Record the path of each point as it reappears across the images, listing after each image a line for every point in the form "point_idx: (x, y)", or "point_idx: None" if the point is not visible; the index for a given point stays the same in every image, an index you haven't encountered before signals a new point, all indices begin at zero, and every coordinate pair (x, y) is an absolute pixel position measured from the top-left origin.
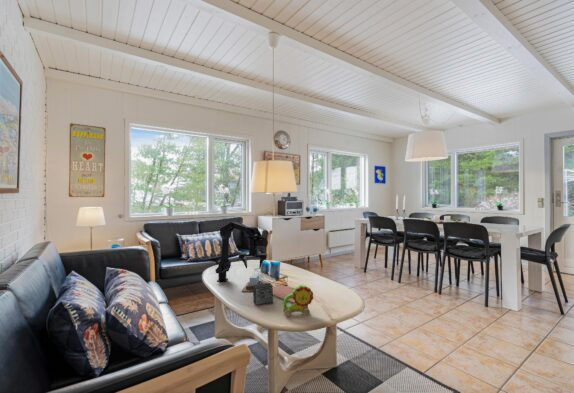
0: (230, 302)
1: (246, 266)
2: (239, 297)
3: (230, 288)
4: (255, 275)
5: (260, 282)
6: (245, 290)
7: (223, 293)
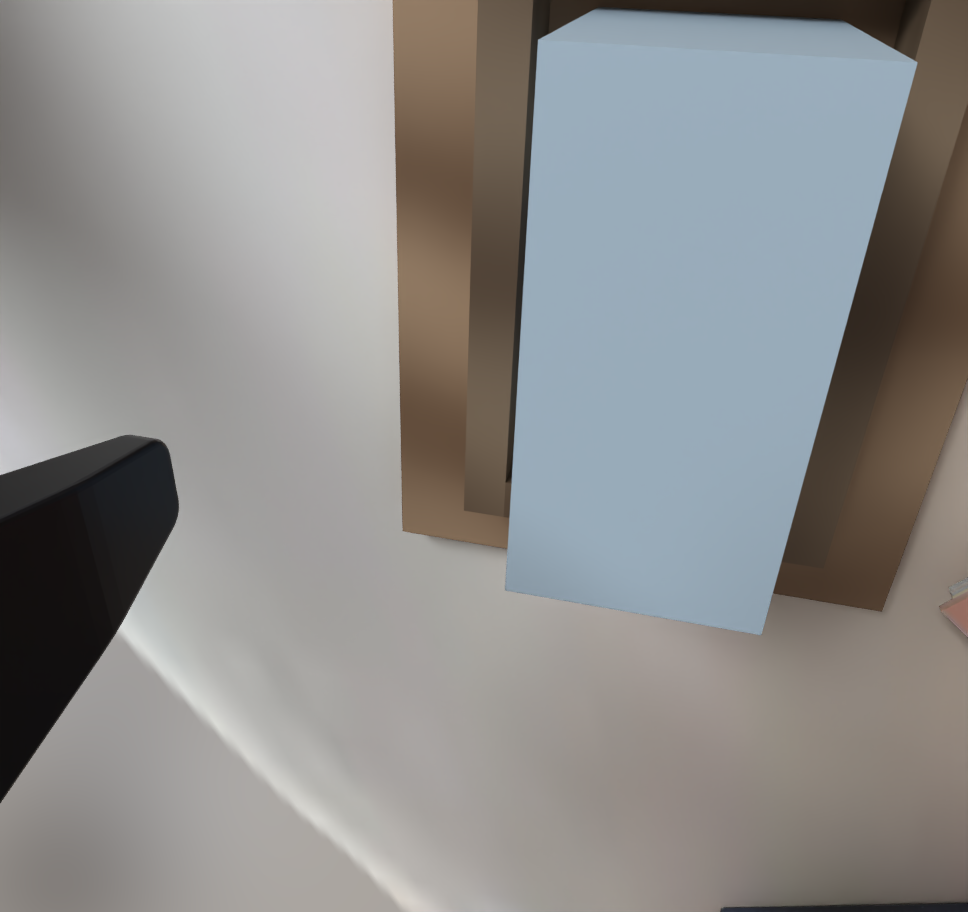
0: (377, 857)
1: (102, 651)
2: (452, 734)
3: (91, 282)
4: (714, 325)
5: (906, 184)
6: (491, 538)
7: None
